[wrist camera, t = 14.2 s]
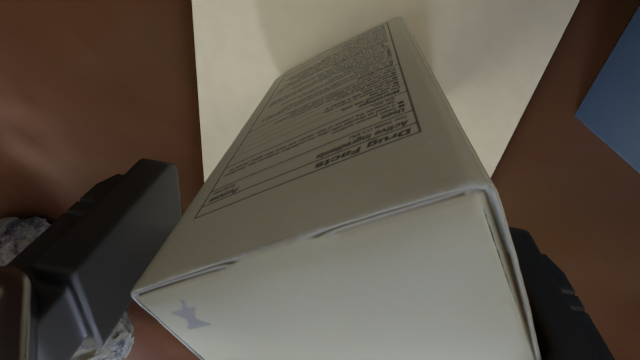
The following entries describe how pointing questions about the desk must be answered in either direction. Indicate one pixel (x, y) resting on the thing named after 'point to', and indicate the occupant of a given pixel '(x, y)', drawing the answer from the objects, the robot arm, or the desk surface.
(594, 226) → the desk surface
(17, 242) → the mineral rock
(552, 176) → the desk surface
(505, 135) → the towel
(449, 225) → the cosmetic box
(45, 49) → the desk surface
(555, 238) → the desk surface
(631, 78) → the storage box
